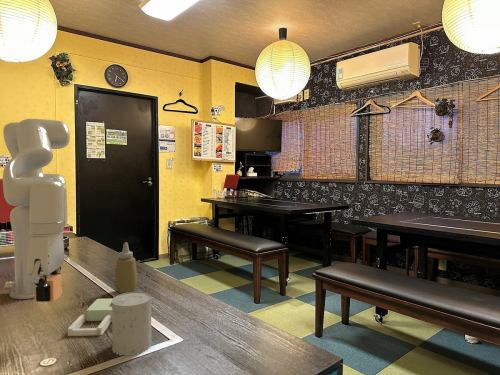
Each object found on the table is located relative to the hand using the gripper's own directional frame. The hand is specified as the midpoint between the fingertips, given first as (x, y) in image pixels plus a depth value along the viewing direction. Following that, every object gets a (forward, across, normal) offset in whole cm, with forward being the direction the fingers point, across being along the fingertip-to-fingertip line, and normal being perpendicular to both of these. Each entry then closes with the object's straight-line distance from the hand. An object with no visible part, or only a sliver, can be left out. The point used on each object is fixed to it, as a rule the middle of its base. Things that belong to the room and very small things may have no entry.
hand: (48, 296), depth 90 cm
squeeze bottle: (+13, -34, +11) cm, 38 cm away
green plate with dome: (+12, -10, +12) cm, 19 cm away
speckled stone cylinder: (+11, +5, +23) cm, 26 cm away
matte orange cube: (0, 0, 0) cm, 0 cm away
